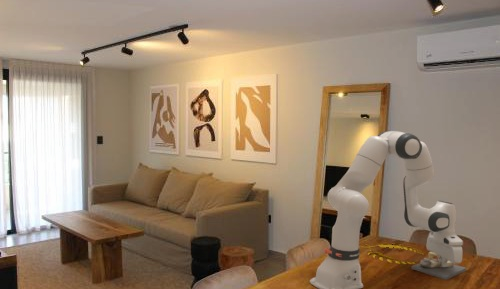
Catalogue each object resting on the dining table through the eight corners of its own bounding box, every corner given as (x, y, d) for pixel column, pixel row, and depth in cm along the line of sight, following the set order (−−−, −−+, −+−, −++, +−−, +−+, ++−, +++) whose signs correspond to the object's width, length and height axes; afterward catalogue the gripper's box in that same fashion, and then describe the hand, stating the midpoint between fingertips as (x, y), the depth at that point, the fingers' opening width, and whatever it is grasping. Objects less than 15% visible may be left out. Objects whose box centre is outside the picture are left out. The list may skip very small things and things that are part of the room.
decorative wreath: (350, 254, 199) (411, 269, 181) (350, 251, 199) (411, 265, 181) (373, 240, 227) (428, 251, 208) (373, 237, 226) (429, 248, 208)
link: (424, 268, 177) (424, 263, 177) (418, 264, 181) (418, 259, 181) (454, 267, 180) (454, 262, 179) (447, 263, 184) (447, 258, 184)
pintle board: (446, 280, 168) (446, 268, 167) (411, 268, 180) (412, 257, 180) (466, 270, 180) (466, 259, 180) (432, 260, 192) (433, 250, 192)
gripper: (423, 230, 187) (422, 258, 187) (453, 243, 167) (451, 274, 167) (435, 230, 188) (433, 258, 189) (466, 242, 168) (464, 274, 168)
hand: (442, 266), depth 178 cm, fingers closed
